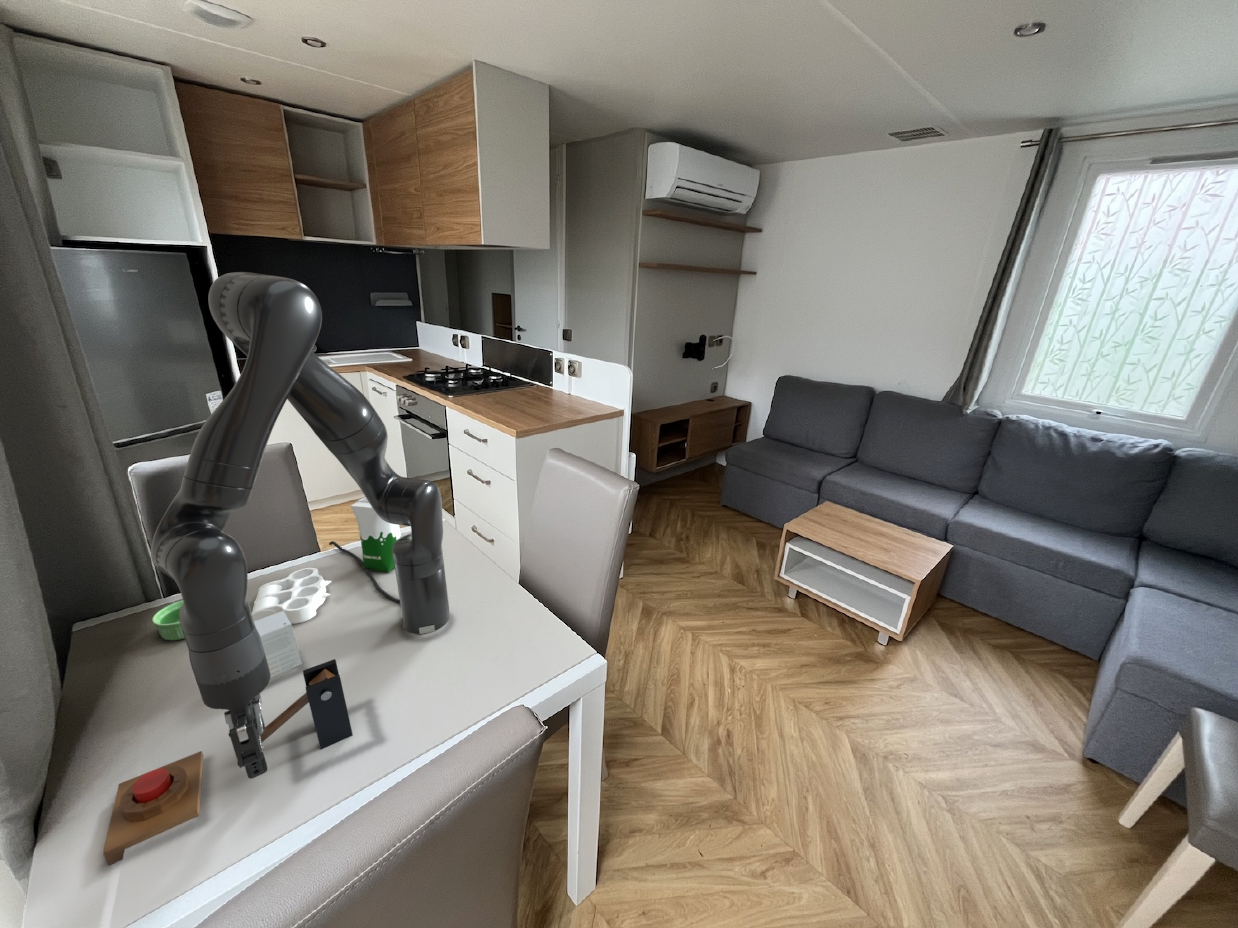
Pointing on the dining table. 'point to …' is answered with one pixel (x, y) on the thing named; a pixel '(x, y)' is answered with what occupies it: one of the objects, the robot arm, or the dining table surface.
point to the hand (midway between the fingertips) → (257, 751)
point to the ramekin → (169, 622)
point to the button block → (154, 808)
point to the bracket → (328, 705)
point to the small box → (278, 643)
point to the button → (151, 785)
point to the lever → (292, 708)
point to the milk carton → (375, 537)
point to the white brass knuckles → (292, 596)
